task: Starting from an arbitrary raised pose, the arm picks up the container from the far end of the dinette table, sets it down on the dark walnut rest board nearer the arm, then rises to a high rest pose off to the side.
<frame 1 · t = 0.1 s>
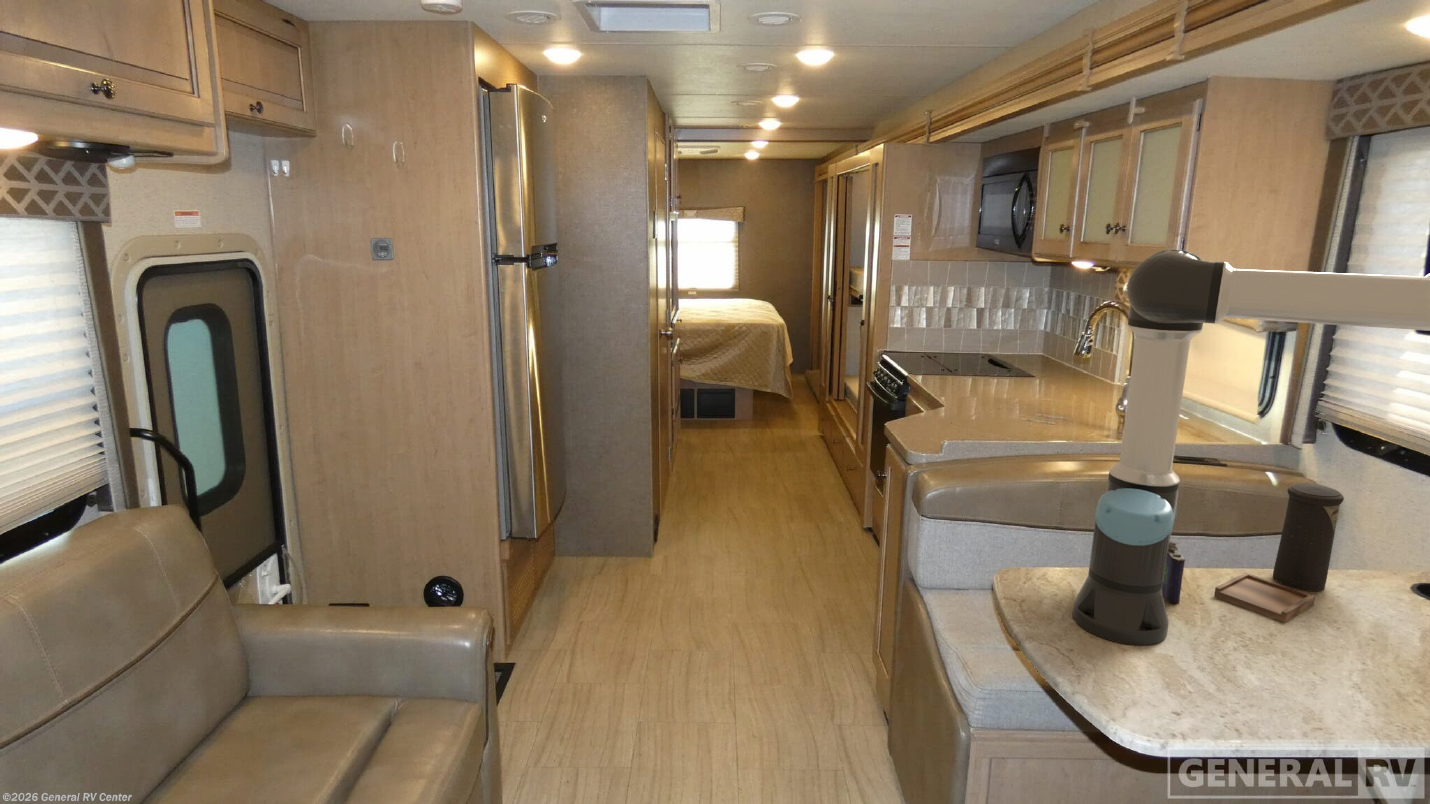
container: (1297, 583, 160), on the table
flask: (1164, 594, 155), on the table
rest pad: (1263, 600, 152), on the table
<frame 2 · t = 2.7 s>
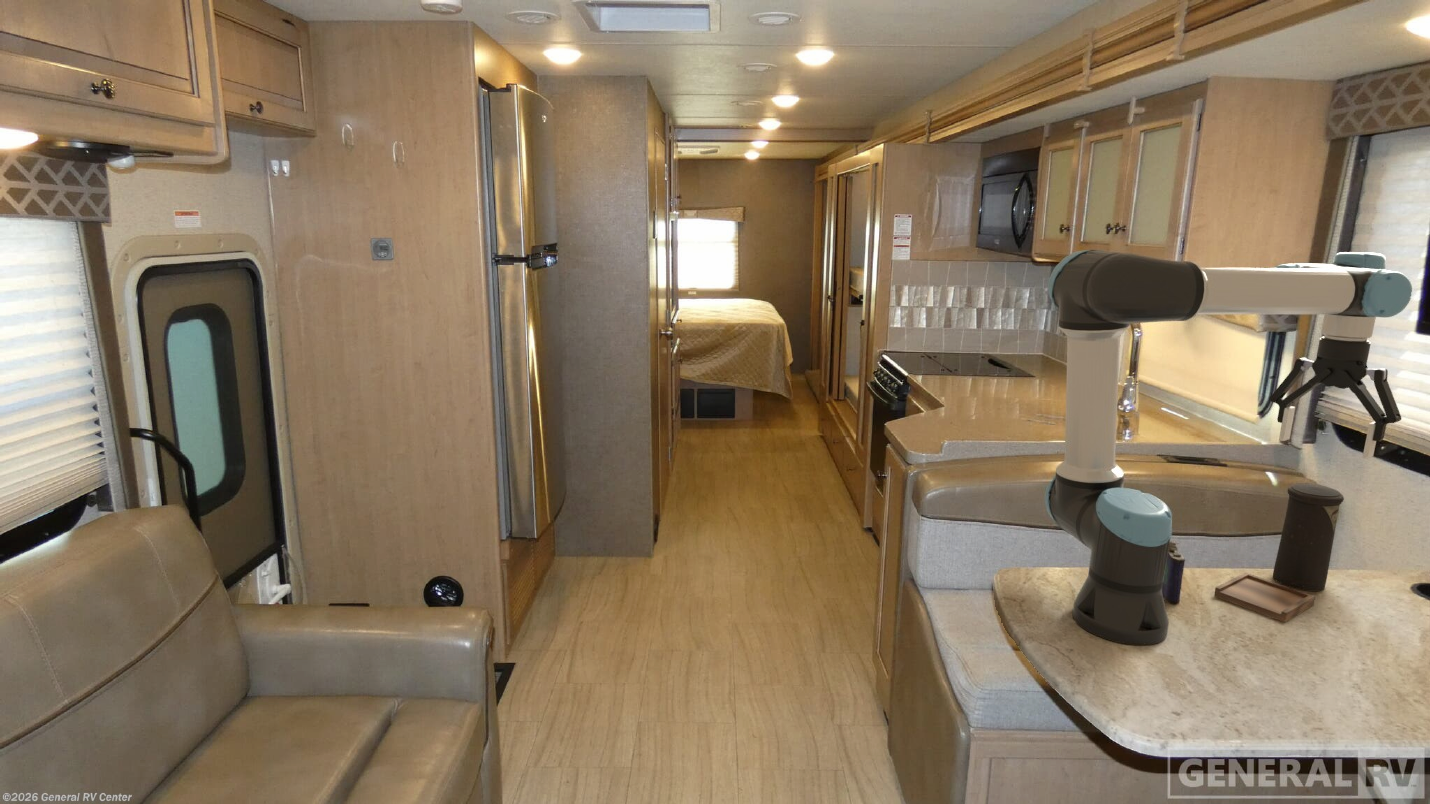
hand: (1324, 448, 153), 28 cm above the table, fingers open, 13 cm apart
nothing on the table moved.
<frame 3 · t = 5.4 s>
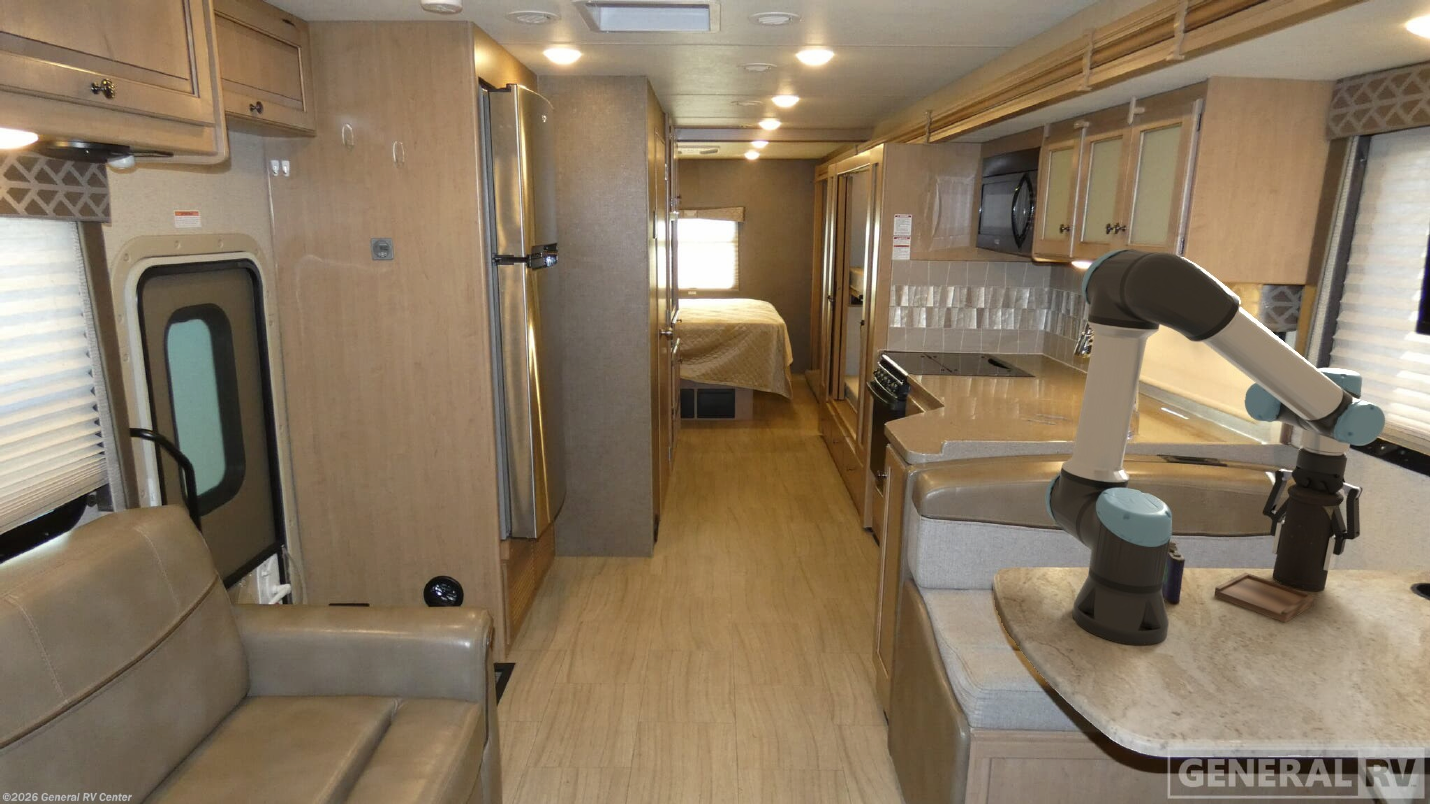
hand: (1302, 560, 159), 5 cm above the table, fingers closed on container, 8 cm apart
container: (1297, 583, 160), on the table, touching gripper
everything else where it was.
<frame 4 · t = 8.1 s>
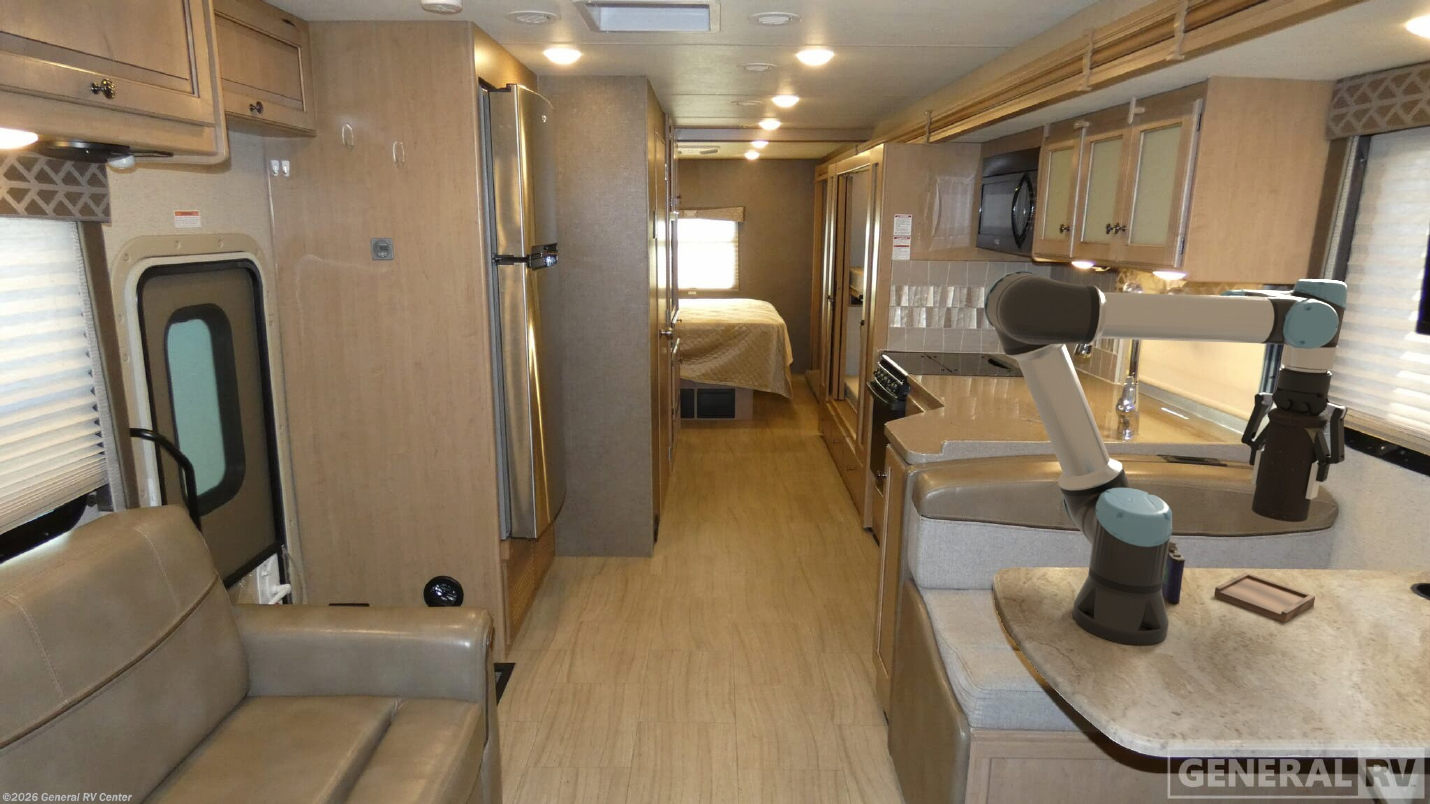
hand: (1283, 490, 147), 22 cm above the table, fingers closed on container, 8 cm apart
container: (1278, 515, 148), point 17 cm above the table, touching gripper
everything else where it was.
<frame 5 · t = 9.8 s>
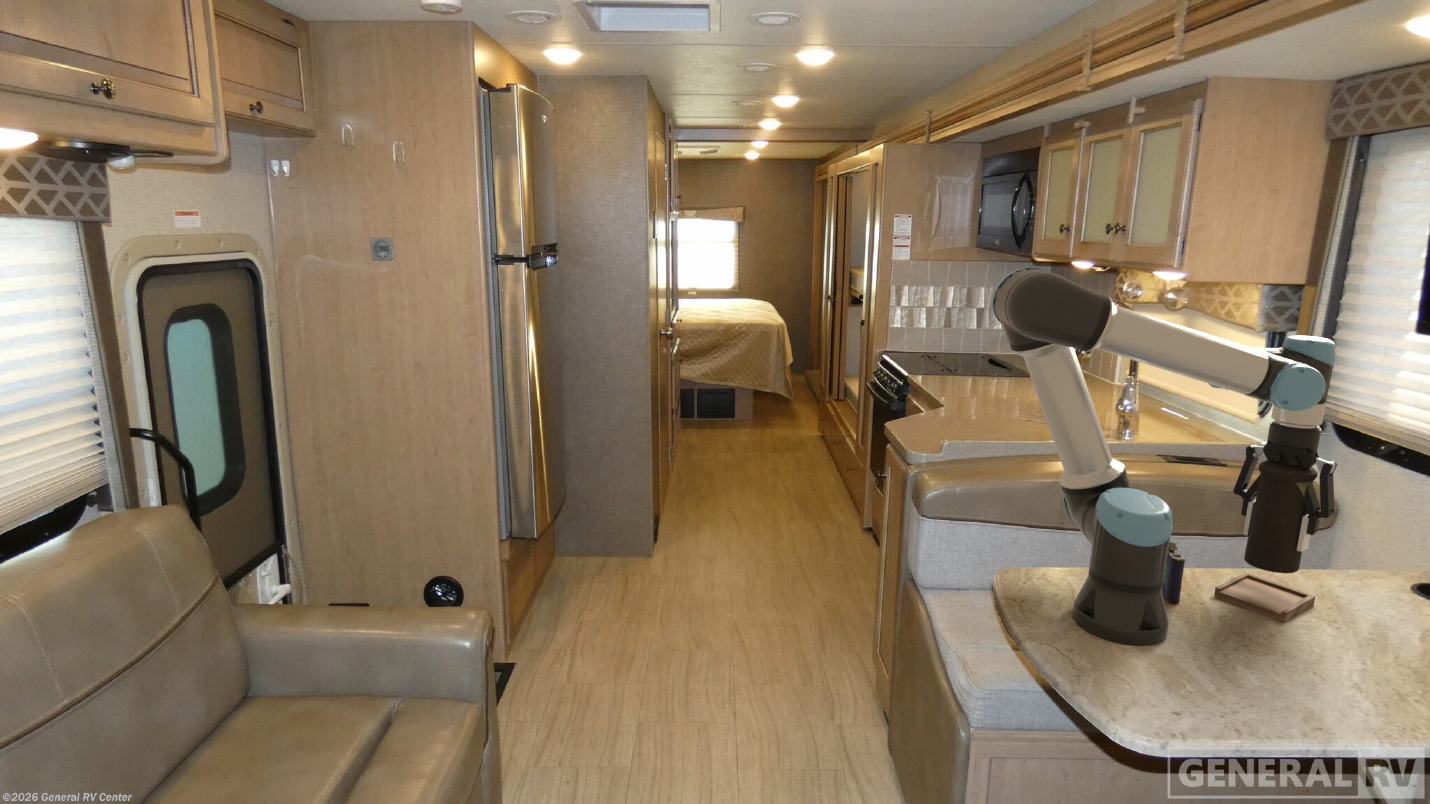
hand: (1274, 541, 149), 12 cm above the table, fingers closed on container, 8 cm apart
container: (1270, 565, 150), point 7 cm above the table, touching gripper
everything else where it was.
when the fingers open (8 cm above the table, at t = 11.2 s): container drops 1 cm, resting on rest pad.
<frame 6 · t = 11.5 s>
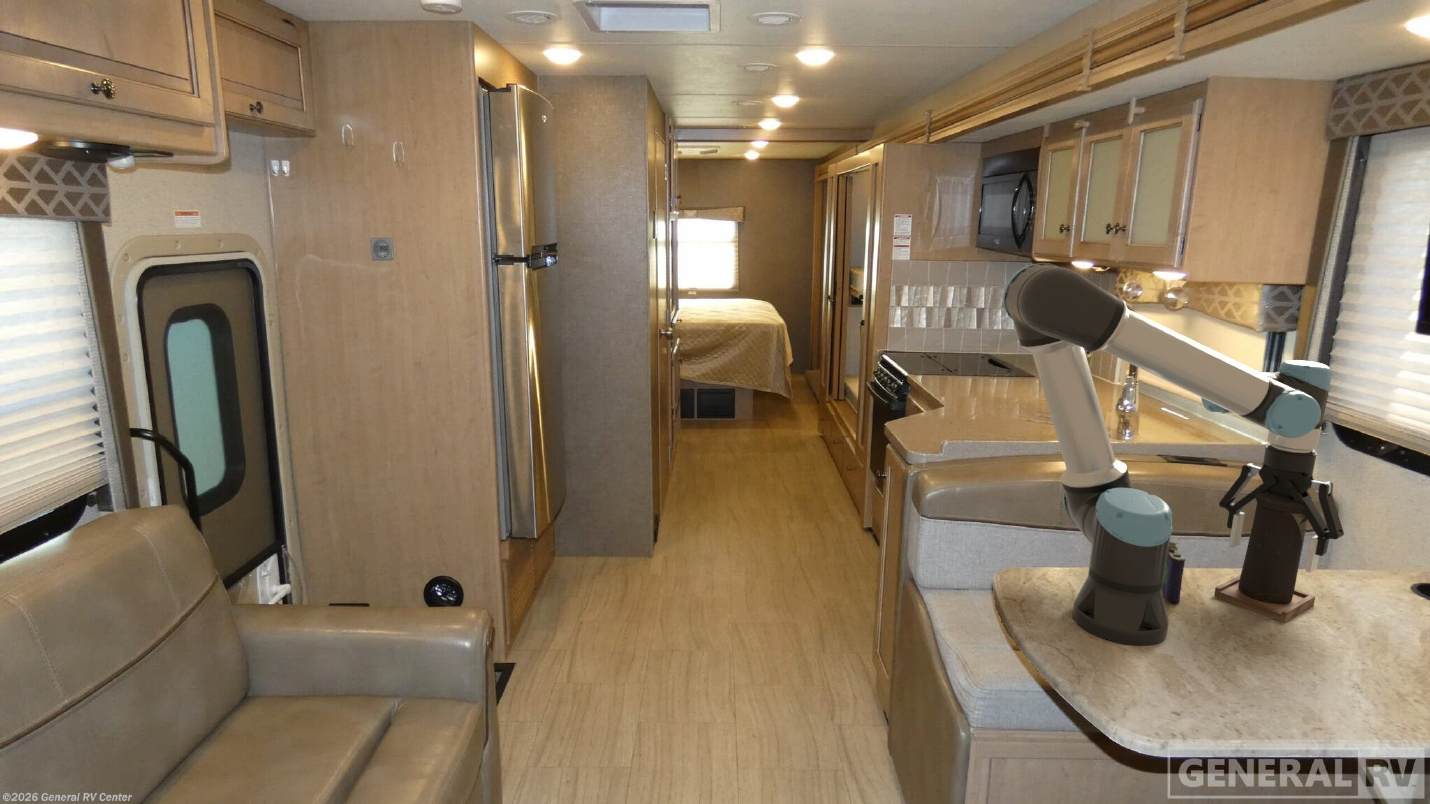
hand: (1271, 557, 150), 9 cm above the table, fingers open, 12 cm apart
container: (1263, 595, 152), point 1 cm above the table, touching rest pad
everything else where it was.
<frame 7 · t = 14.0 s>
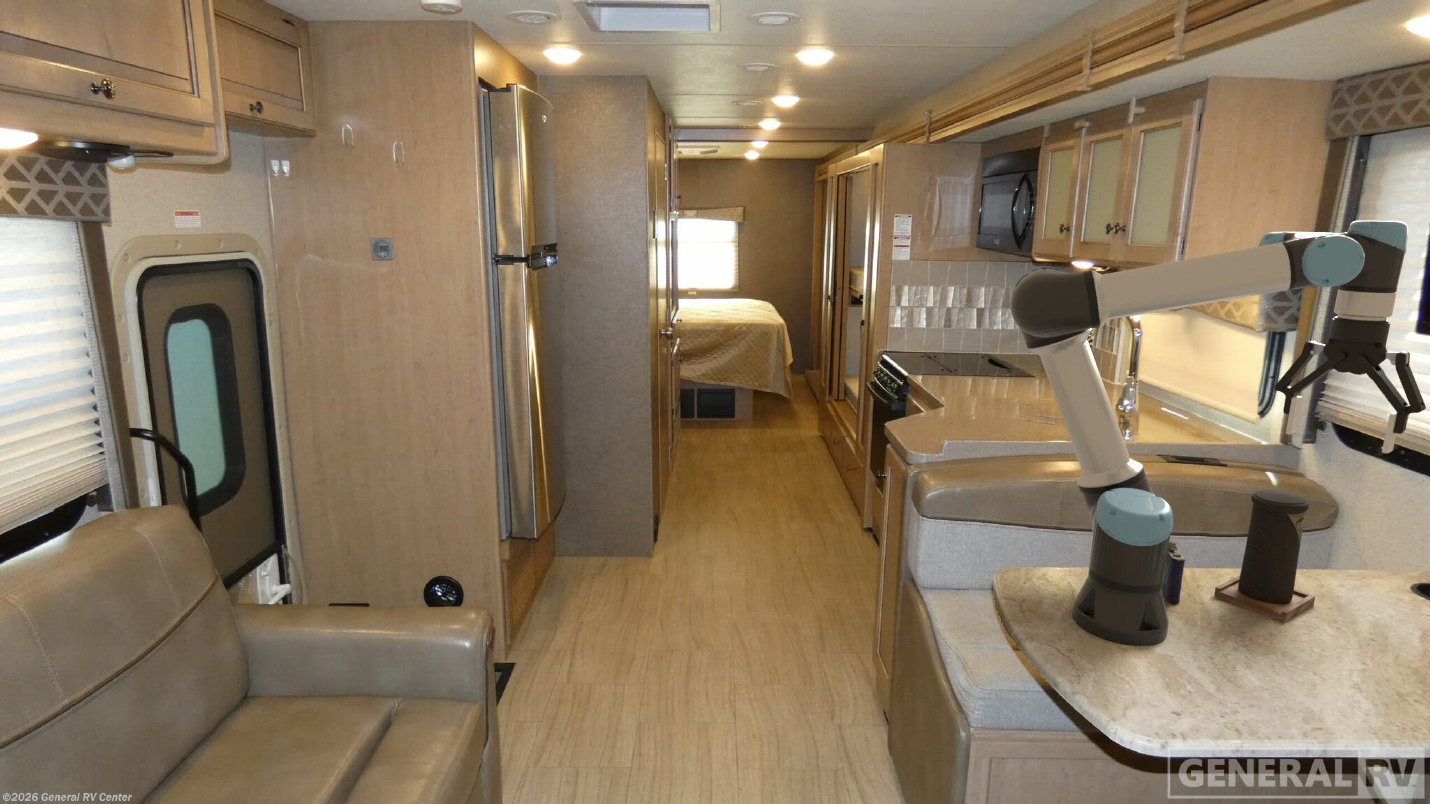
hand: (1337, 442, 136), 34 cm above the table, fingers open, 13 cm apart
nothing on the table moved.
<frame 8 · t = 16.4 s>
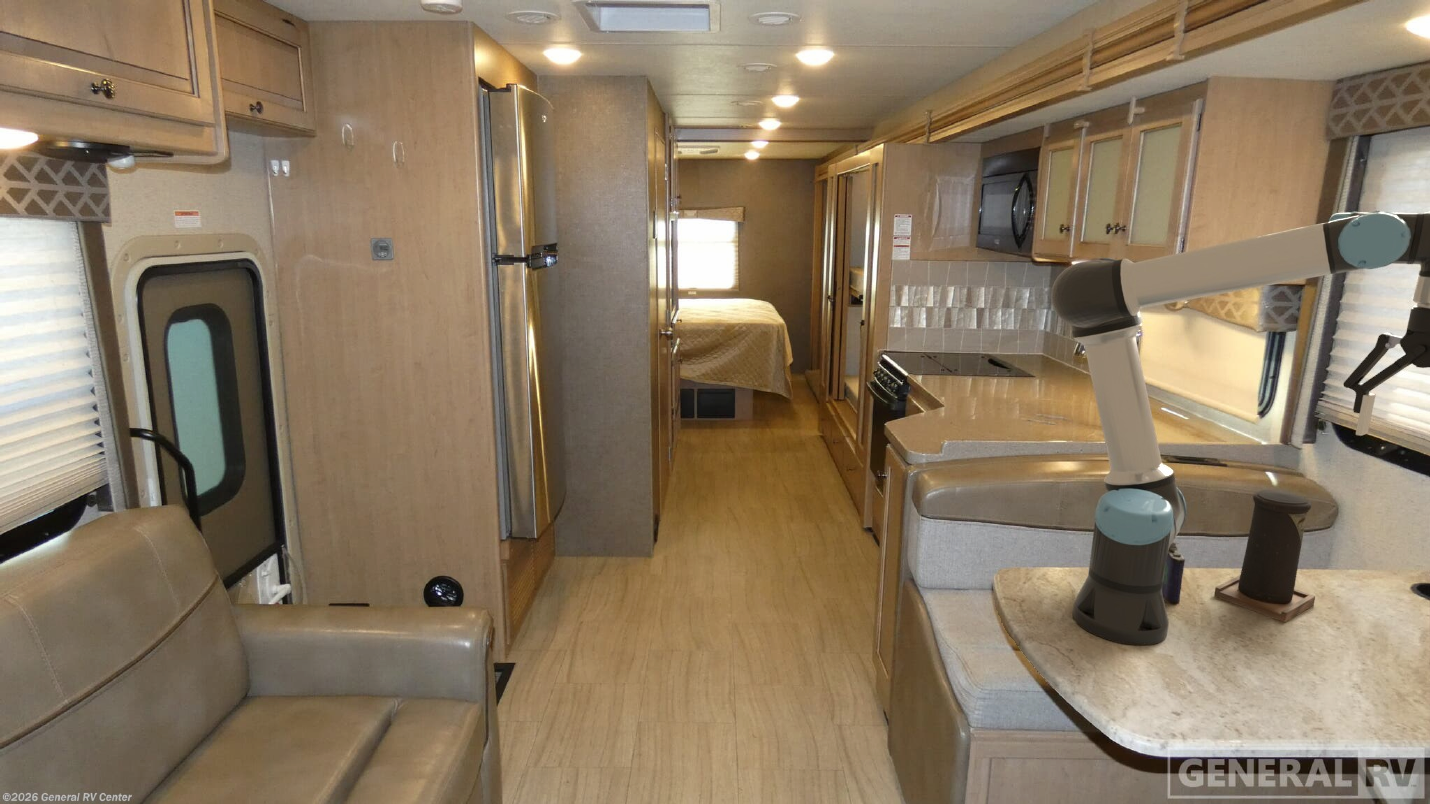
hand: (1414, 444, 124), 37 cm above the table, fingers open, 13 cm apart
nothing on the table moved.
at the end: container 0.1 cm from the rest pad (horizontally); container tilted 1°; the gripper is holding nothing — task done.
